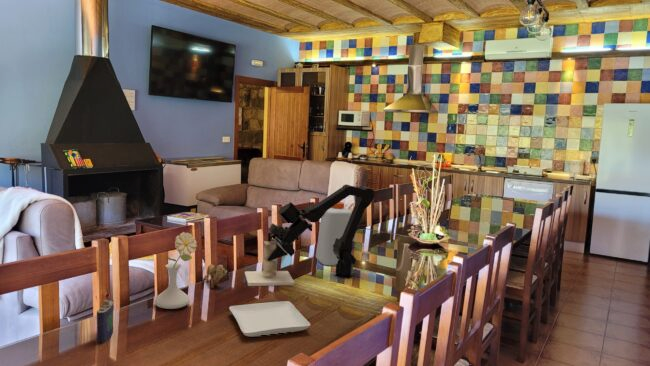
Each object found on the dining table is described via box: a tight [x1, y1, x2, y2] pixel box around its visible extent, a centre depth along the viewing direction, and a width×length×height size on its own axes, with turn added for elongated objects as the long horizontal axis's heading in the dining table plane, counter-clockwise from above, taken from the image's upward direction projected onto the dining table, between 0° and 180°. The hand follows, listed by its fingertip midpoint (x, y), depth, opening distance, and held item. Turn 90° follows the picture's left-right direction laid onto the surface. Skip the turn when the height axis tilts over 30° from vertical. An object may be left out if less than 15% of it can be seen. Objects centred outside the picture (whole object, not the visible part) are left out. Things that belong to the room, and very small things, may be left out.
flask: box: [96, 299, 114, 345], centre depth 136 cm, size 9×3×11 cm, turn 8°
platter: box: [244, 270, 295, 287], centre depth 194 cm, size 18×14×1 cm
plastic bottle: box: [315, 201, 353, 267], centre depth 224 cm, size 15×15×28 cm
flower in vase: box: [153, 231, 197, 310], centre depth 160 cm, size 13×11×25 cm
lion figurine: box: [204, 264, 228, 289], centre depth 185 cm, size 15×5×9 cm, turn 38°
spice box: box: [261, 240, 278, 276], centre depth 193 cm, size 5×5×13 cm
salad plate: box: [228, 300, 312, 338], centre depth 152 cm, size 21×21×3 cm
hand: (266, 258), depth 193 cm, fingers closed on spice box, 5 cm apart
